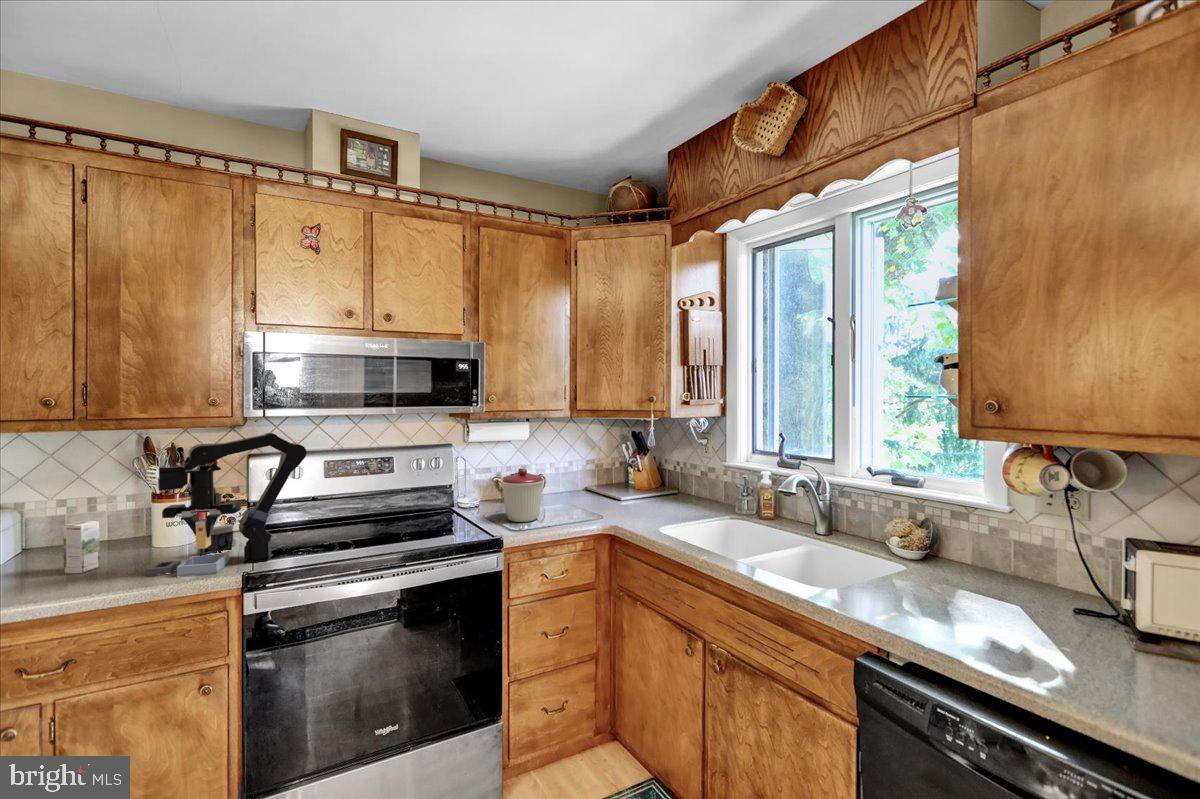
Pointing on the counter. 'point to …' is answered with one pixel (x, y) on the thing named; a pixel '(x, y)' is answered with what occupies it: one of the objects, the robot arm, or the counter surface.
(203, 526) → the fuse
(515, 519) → the canister
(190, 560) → the parts tray
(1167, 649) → the counter surface
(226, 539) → the electrical switch
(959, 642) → the counter surface
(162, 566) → the block
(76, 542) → the syrup box
